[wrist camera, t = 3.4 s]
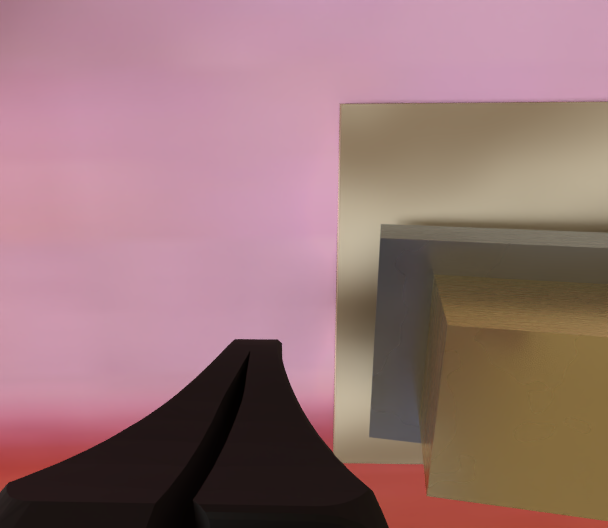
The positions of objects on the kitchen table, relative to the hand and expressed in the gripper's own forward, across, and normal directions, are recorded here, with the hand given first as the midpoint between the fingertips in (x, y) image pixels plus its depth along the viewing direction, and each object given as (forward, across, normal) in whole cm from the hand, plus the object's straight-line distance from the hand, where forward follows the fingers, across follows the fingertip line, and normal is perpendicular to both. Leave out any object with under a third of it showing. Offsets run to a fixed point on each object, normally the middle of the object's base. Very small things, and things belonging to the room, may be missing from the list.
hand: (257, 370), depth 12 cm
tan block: (+1, -8, 0) cm, 8 cm away
